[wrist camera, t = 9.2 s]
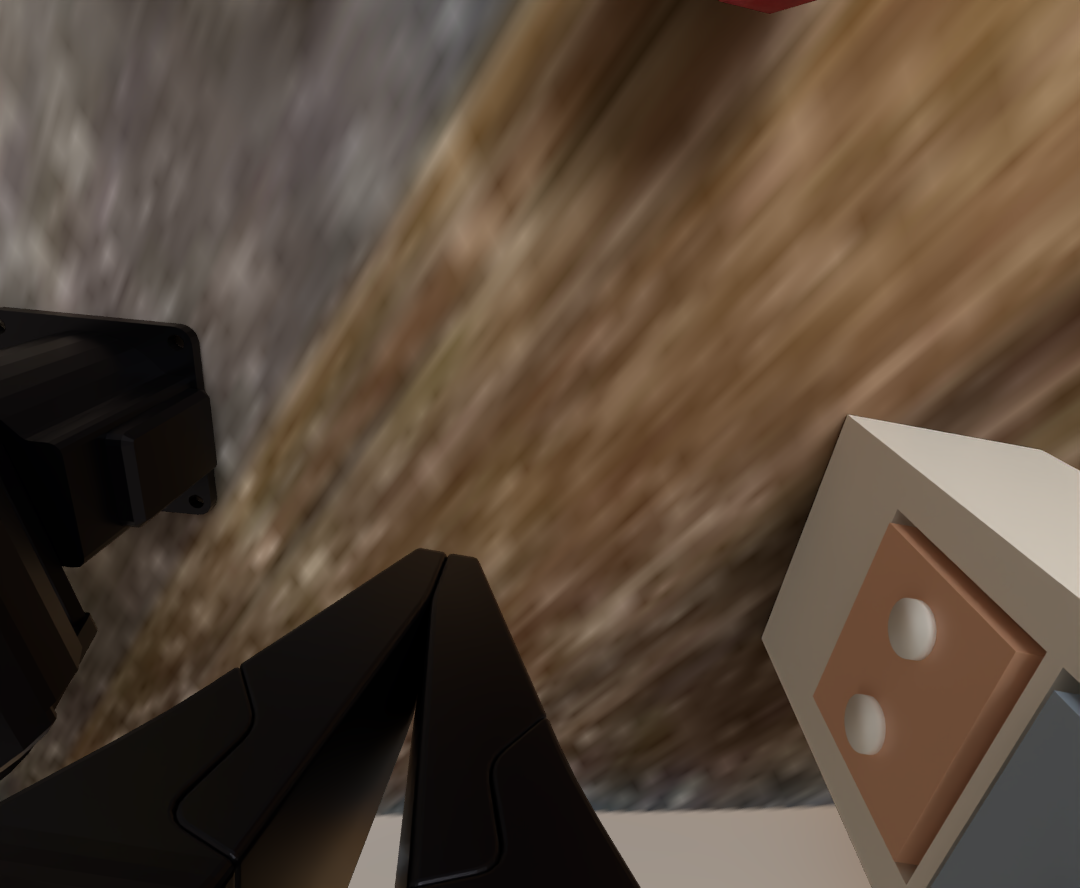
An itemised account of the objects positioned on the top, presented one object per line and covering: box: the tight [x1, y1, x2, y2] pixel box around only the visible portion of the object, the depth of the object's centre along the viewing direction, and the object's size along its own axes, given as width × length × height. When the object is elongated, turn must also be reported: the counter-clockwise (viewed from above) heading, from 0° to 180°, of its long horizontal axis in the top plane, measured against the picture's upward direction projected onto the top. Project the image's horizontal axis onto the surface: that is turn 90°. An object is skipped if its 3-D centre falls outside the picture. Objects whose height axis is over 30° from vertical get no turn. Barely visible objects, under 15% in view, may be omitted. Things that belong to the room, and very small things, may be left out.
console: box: [761, 415, 1080, 888], centre depth 14 cm, size 6×9×16 cm
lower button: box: [813, 523, 1047, 865], centre depth 15 cm, size 3×6×5 cm, turn 170°
